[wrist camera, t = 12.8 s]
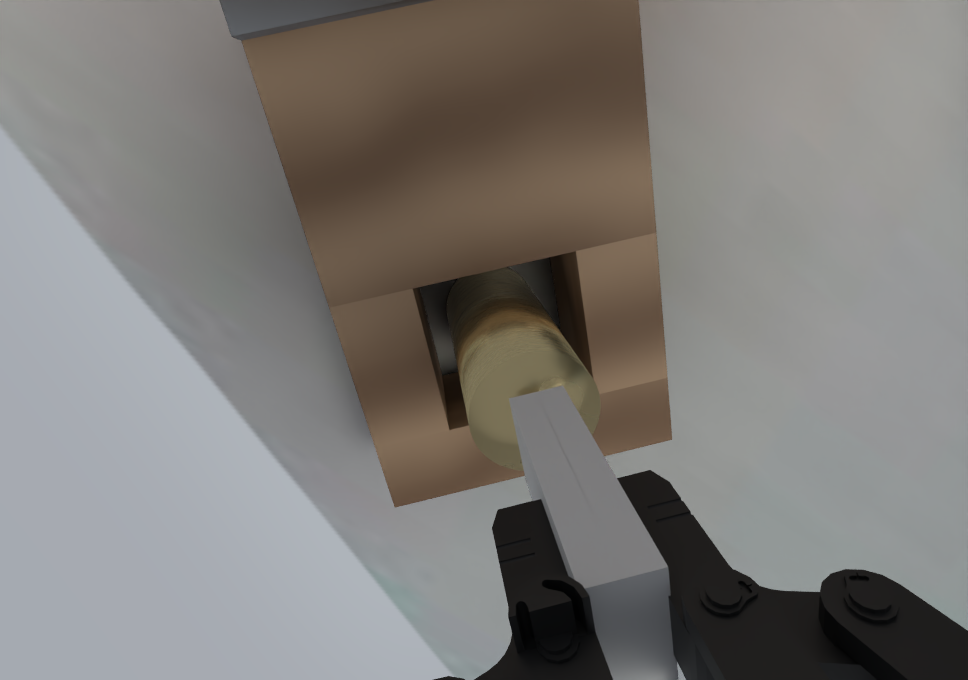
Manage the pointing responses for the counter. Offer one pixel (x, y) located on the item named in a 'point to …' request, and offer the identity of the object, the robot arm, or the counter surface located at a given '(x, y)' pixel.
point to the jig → (467, 197)
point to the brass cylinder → (510, 359)
